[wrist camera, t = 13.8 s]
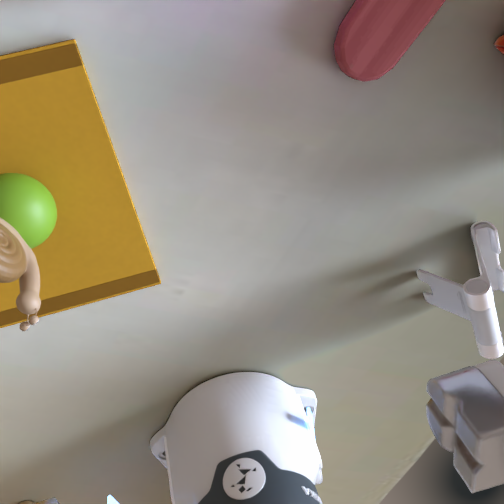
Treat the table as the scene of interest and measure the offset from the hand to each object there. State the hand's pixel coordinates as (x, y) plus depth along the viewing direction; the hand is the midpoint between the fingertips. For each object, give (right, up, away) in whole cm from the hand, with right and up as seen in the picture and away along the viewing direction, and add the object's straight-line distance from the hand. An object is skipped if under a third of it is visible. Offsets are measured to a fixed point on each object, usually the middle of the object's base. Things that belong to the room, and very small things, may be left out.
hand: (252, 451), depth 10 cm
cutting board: (-17, +8, +26) cm, 32 cm away
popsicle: (+11, +24, +24) cm, 35 cm away
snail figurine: (-17, +8, +25) cm, 31 cm away
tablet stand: (+21, +3, +39) cm, 44 cm away
